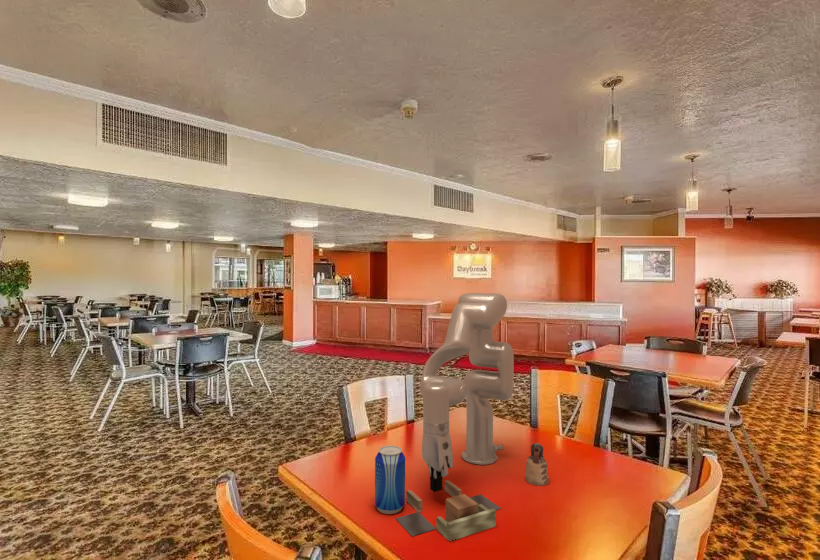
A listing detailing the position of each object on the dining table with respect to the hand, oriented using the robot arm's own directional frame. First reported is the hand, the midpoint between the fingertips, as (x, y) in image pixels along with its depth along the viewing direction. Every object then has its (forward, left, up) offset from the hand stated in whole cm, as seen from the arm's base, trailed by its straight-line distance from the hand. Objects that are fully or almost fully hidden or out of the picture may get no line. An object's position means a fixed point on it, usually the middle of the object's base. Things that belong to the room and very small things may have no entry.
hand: (436, 489), depth 122 cm
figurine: (-35, +4, -3) cm, 36 cm away
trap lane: (+1, +8, -3) cm, 8 cm away
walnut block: (+1, +14, -3) cm, 14 cm away
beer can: (+14, -3, -3) cm, 14 cm away
